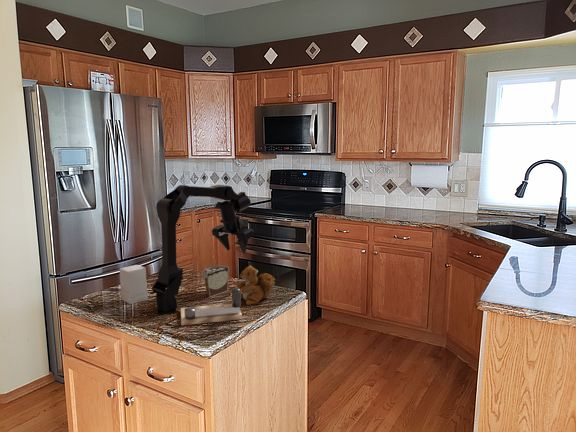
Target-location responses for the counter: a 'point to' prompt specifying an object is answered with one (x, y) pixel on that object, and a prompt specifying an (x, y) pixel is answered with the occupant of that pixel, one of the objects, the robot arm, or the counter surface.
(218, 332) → the counter surface
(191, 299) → the counter surface
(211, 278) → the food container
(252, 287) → the stuffed squirrel
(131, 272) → the supplement box
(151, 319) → the counter surface
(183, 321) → the base board
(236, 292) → the lever
